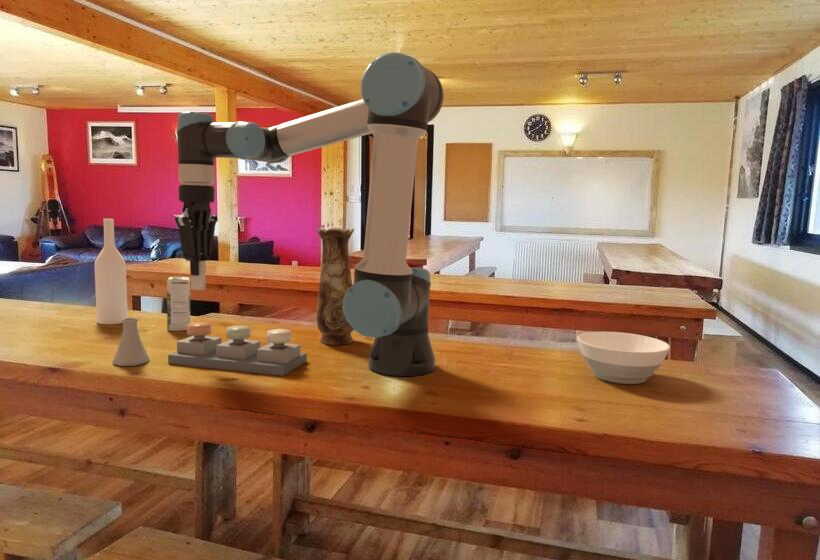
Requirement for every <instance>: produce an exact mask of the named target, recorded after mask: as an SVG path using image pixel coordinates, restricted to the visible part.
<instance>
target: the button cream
mask: <svg viewBox="0 0 820 560" xmlns="http://www.w3.org/2000/svg"><path fill="white" fill-rule="evenodd" d="M266 341H267V343H274V349H282V350H283V349H285V343H286V344H288V343H289V342H291V341H292V331H291V330H289V329H285V328H277V329H275V328H274V329H270V330H266Z"/></svg>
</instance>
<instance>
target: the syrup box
mask: <svg viewBox="0 0 820 560" xmlns="http://www.w3.org/2000/svg"><path fill="white" fill-rule="evenodd" d="M166 317H167V318H166V319H167V322H166V323H167V324H166V326H167V327H166V329H167V332H175V331H176V332H178V331H180V332H183V331H187V325H188V324H190V323H191V277H189V276H169V277H168V279H167V280H166Z"/></svg>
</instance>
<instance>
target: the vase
mask: <svg viewBox="0 0 820 560" xmlns="http://www.w3.org/2000/svg"><path fill="white" fill-rule="evenodd" d="M315 230H316V232H317V233H318V235H319V237H320V239H321V241H322V245H321V246H322V250H321V251H322V252H321V253H322V254H321V255H322V256H321V267H320V278H319V284H318V295H317V304H316V324H317V329H318V331H319V332H320V333H321V337H320V341H319V342H320V343H322V344H324V345H329V346H330V345H332V346H333V345H334V346H337V345H339V346H340V345H347V344H352V343H353V342H354V339H353V337H352V332H353V331H355V330H354V329H353V328H352V327H351V325H350V324H349V323H348V322H347V320H346V318H345V315H344V312H343V299H344V296H345V294H346V292H347V290H348V289H349V288H350V287H351V286H352V285H353V279H352V272H351V264H350V255H349V240H350V239H351V236H352V235H353V233H354V231H355V228H346V229H344V228H342V227H330V228H328V229H325V228H321V229H320V228H316V229H315Z"/></svg>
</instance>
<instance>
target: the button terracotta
mask: <svg viewBox="0 0 820 560" xmlns="http://www.w3.org/2000/svg"><path fill="white" fill-rule="evenodd" d="M186 334H187V335H188V336H194V341H199V342H202V341H205V336H208V335H210V334H212V323H210V322H205V321H202V322H201V321H200V322H190V324H188V325H187V330H186Z"/></svg>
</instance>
